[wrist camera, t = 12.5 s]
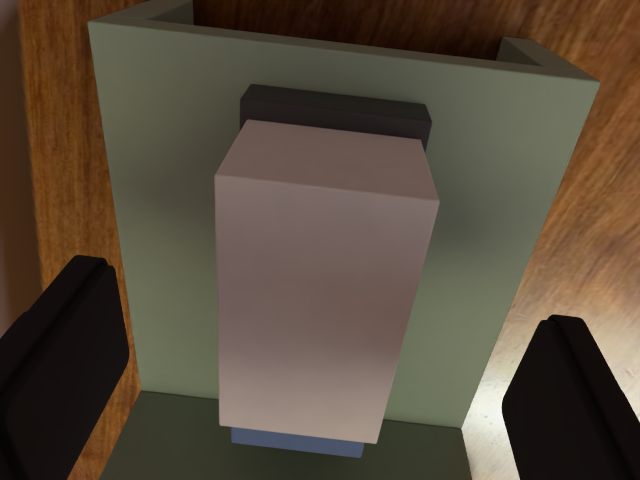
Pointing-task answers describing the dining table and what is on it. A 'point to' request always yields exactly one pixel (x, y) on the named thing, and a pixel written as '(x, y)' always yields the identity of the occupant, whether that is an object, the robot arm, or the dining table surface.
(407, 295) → the black base with blocks
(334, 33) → the dining table surface
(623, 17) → the dining table surface
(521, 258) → the olive lipped platform
